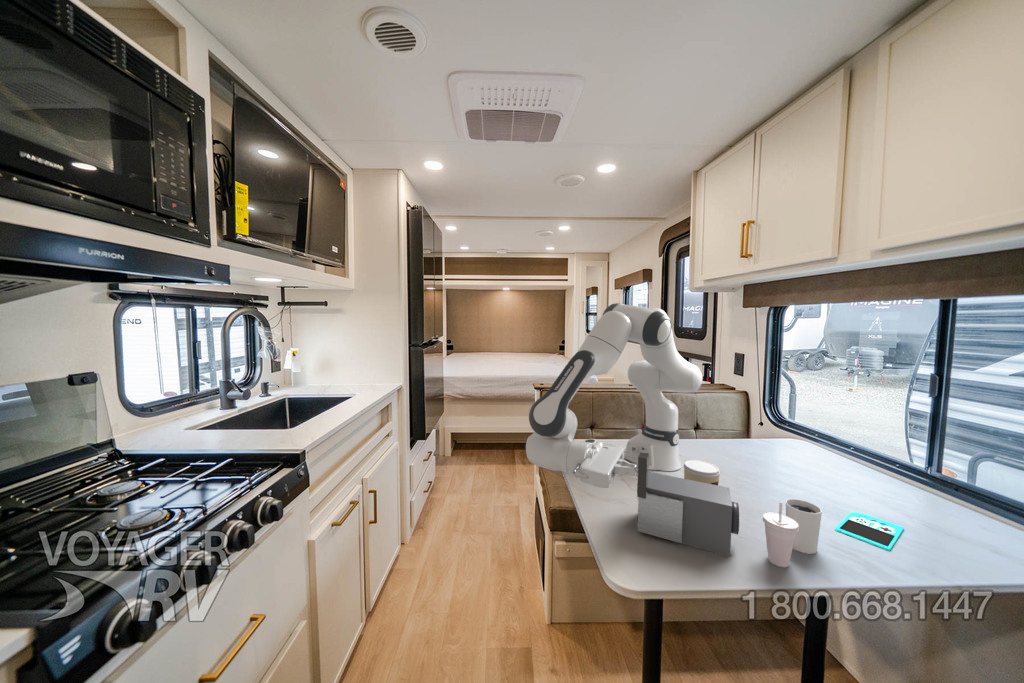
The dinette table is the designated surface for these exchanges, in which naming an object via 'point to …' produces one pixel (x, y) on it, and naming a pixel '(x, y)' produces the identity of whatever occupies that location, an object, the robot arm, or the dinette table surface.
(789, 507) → the white cylindrical cup
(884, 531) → the handheld game console
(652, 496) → the side door
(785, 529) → the smoothie
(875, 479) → the dinette table surface
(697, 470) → the coffee cup
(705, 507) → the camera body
